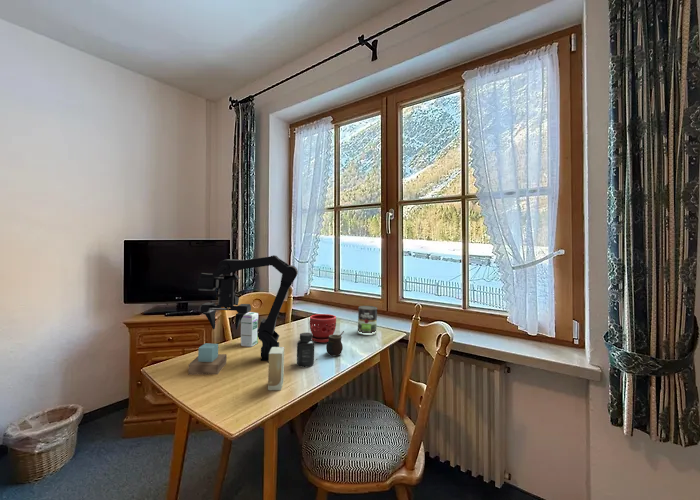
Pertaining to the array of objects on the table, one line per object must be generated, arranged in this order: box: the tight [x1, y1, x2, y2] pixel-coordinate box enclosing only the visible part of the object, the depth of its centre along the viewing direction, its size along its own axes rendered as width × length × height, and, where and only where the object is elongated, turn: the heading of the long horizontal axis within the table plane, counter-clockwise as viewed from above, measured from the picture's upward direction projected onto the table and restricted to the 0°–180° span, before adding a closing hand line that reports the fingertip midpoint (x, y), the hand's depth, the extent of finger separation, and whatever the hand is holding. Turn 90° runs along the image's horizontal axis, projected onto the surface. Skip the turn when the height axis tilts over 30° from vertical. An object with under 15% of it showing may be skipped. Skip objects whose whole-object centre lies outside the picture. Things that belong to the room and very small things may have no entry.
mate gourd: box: [325, 330, 345, 357], centre depth 132 cm, size 7×8×10 cm
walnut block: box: [187, 353, 228, 376], centre depth 113 cm, size 10×10×4 cm
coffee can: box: [357, 305, 378, 333], centre depth 165 cm, size 10×10×14 cm
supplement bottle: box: [296, 332, 315, 368], centre depth 120 cm, size 7×7×12 cm
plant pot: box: [309, 313, 337, 344], centre depth 151 cm, size 13×13×12 cm
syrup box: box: [240, 311, 259, 348], centre depth 141 cm, size 6×6×14 cm
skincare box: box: [267, 346, 285, 391], centre depth 101 cm, size 6×4×12 cm
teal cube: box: [197, 342, 219, 362], centre depth 113 cm, size 5×5×5 cm
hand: (225, 329), depth 123 cm, fingers open, 9 cm apart
